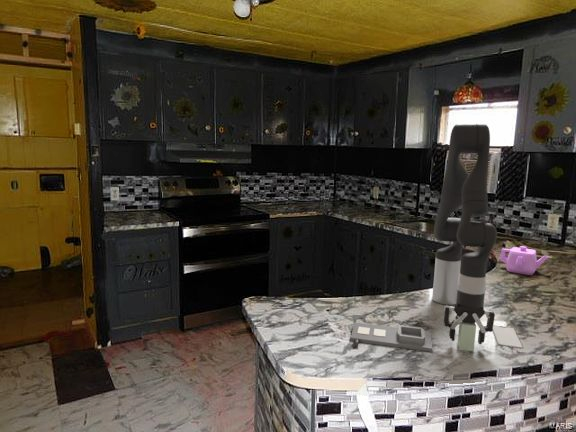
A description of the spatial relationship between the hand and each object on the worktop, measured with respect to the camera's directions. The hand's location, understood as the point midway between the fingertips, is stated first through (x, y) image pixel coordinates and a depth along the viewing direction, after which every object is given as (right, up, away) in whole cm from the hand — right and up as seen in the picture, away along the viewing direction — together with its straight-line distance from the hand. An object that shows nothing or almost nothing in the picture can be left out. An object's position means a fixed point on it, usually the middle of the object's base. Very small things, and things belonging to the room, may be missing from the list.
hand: (466, 341), depth 127 cm
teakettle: (+63, +10, +84) cm, 106 cm away
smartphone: (+17, -2, +9) cm, 19 cm away
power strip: (-22, -1, +4) cm, 22 cm away
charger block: (0, -2, 0) cm, 2 cm away
